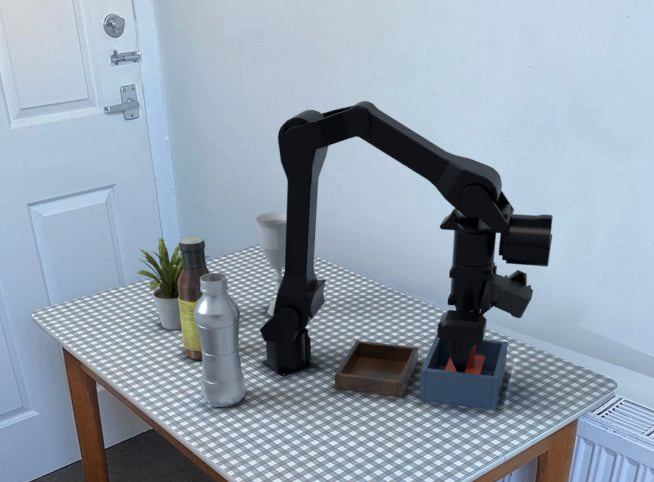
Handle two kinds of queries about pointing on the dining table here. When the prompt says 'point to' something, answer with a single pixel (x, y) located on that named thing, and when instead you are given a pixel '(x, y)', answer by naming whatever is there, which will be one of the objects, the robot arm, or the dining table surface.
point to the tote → (464, 377)
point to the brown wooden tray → (377, 369)
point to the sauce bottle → (191, 292)
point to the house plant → (166, 285)
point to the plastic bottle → (219, 342)
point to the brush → (470, 363)
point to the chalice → (273, 244)
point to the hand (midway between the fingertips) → (465, 359)
